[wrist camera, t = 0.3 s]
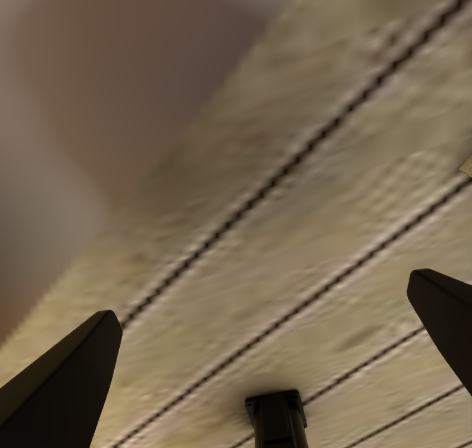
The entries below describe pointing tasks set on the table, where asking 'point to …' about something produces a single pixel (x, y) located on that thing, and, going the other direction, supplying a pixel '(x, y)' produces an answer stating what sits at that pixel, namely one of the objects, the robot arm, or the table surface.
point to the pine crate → (467, 166)
